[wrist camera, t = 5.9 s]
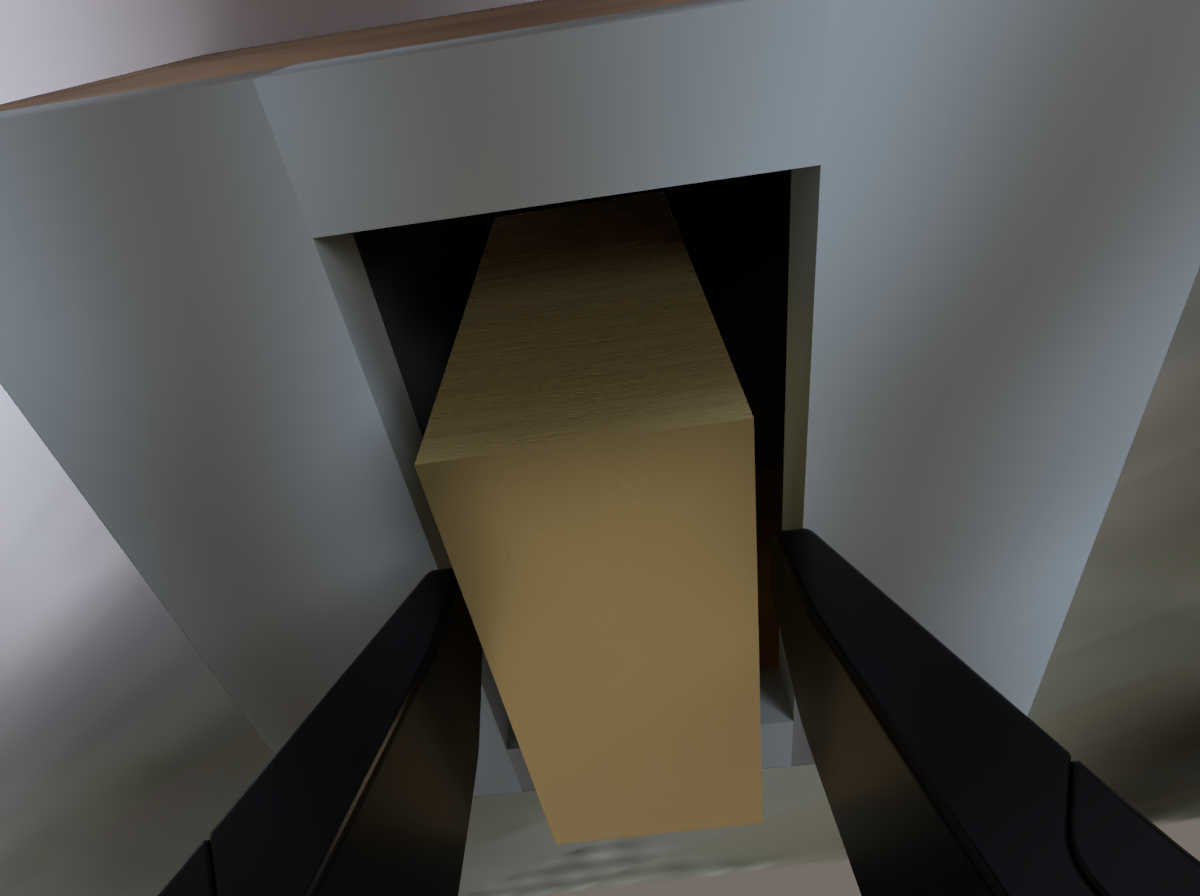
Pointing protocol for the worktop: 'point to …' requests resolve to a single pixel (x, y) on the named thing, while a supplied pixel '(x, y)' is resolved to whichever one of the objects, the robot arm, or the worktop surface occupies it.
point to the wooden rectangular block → (606, 520)
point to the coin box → (587, 170)
